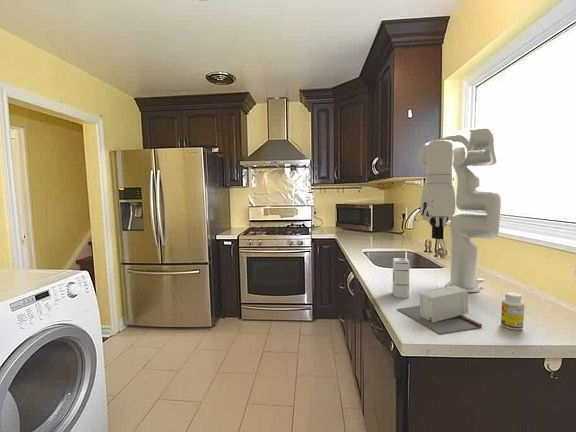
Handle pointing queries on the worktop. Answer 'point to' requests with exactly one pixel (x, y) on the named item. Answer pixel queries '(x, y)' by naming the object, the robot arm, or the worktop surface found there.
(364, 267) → the worktop surface
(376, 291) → the worktop surface
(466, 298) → the skincare box
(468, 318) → the rail
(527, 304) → the worktop surface
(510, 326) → the supplement bottle
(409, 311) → the mat
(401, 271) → the syrup box
